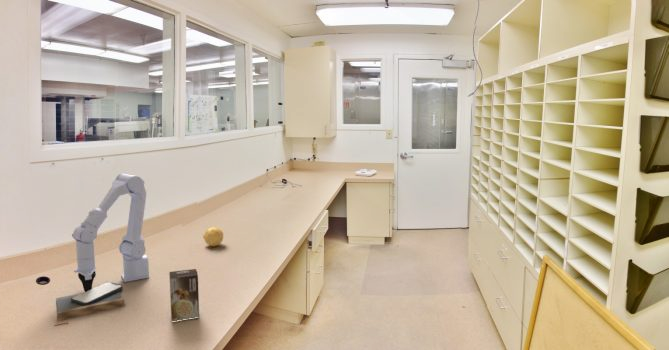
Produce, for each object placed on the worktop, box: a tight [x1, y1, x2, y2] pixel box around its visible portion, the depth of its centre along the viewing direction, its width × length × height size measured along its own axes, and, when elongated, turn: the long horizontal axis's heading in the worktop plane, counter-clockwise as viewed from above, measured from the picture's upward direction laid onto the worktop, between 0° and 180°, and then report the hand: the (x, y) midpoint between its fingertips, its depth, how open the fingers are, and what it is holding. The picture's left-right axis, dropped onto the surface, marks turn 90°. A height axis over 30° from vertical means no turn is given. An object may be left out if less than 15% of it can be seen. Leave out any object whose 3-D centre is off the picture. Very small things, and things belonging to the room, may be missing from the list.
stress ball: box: [203, 226, 224, 248], centre depth 210 cm, size 10×10×10 cm
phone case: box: [71, 281, 124, 306], centre depth 151 cm, size 9×2×16 cm
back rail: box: [57, 297, 126, 322], centre depth 140 cm, size 20×2×2 cm, turn 126°
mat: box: [56, 291, 123, 312], centre depth 148 cm, size 20×18×1 cm
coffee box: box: [168, 268, 200, 322], centre depth 138 cm, size 9×6×16 cm
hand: (87, 290), depth 154 cm, fingers closed
